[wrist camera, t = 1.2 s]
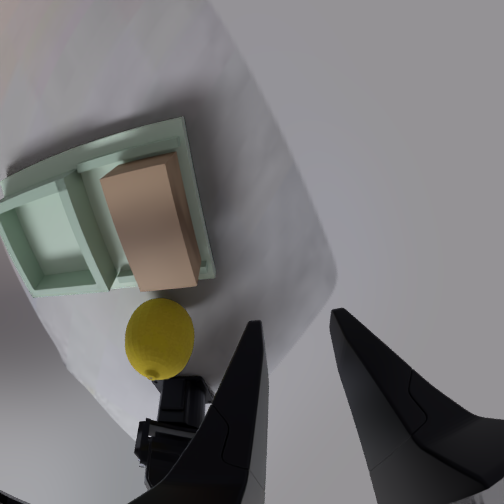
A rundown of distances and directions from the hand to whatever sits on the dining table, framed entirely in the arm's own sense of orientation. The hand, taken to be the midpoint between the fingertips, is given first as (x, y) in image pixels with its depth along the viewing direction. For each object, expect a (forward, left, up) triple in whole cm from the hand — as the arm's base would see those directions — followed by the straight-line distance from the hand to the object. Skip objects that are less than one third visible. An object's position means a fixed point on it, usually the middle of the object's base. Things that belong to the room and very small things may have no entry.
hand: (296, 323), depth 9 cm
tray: (0, +13, -12) cm, 18 cm away
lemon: (-9, +9, -12) cm, 18 cm away
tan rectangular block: (0, +7, -11) cm, 13 cm away
